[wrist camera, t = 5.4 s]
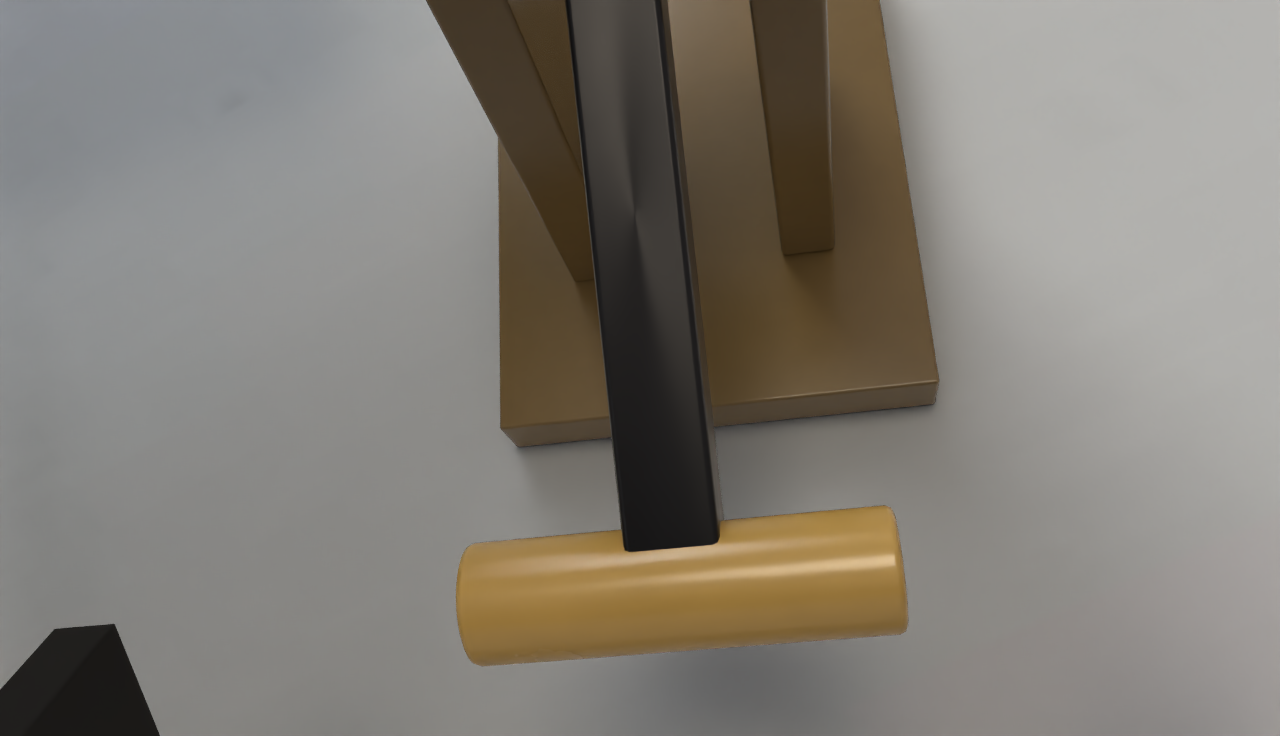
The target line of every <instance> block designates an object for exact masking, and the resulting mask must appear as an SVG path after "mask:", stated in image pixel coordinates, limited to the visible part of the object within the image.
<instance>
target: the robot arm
mask: <svg viewBox="0 0 1280 736" xmlns="http://www.w3.org/2000/svg"><path fill="white" fill-rule="evenodd" d="M0 736H160V735H159V732H158V730H157V727H156V725H155V722H154V720H153V717H152V715H151V713H150V710H149V708H148V705H147V703H146V700H145V698H144V695H143V693H142V690H141V688H140V686H139V683H138V681H137V678H136V676H135V673H134V671H133V668H132V666H131V663H130V661H129V658H128V656H127V654H126V651H125V649H124V646H123V644H122V641H121V639H120V636H119V634H118V631H117V629H116V626H115V624H108V625H96V626H84V627H72V628H60V629H54V630H53V631H52V632H51V634H50V635H49V636H48V637H47V638H46V639H45V640H44V641H43V643H42V644H41V645H40V646H39V647H38V648H37V649H36V650H35V651H34V653H33V654H32V655H31V656H30V657H29V658H28V659H27V660H26V662H25V663H24V664H23V665H22V666H21V667H20V668H19V669H18V671H17V672H16V673H15V674H14V675H13V676H12V677H11V678H10V679H9V681H8V682H7V683H6V684H5V685H4V686H3V687H2V688H1V690H0Z"/></svg>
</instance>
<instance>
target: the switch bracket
mask: <svg viewBox="0 0 1280 736" xmlns="http://www.w3.org/2000/svg"><path fill="white" fill-rule="evenodd" d="M426 1H427V3H428V5H429V7H430V9H431V11H432V13H433V15H434V17H435V18H436V20H437V22H438V24H439V26H440V28H441V30H442V32H443V34H444V35H445V37H446V39H447V41H448V43H449V45H450V47H451V49H452V51H453V53H454V54H455V56H456V58H457V60H458V62H459V64H460V66H461V68H462V70H463V71H464V73H465V75H466V77H467V79H468V81H469V83H470V85H471V87H472V88H473V90H474V92H475V94H476V96H477V98H478V100H479V102H480V104H481V106H482V107H483V109H484V111H485V113H486V115H487V117H488V119H489V121H490V123H491V124H492V126H493V128H494V130H495V132H496V134H497V136H498V180H499V308H500V428H501V430H502V431H503V432H504V433H505V434H506V435H507V436H508V437H509V438H510V439H511V440H512V441H513V443H514V444H515V445H516V446H518V447H523V446H533V445H543V444H552V443H562V442H572V441H581V440H591V439H601V438H610V437H611V428H610V418H609V409H608V400H607V390H606V381H605V371H604V362H603V353H602V343H601V334H600V324H599V315H598V306H597V296H596V287H595V278H594V268H593V259H592V249H591V240H590V231H589V221H588V212H587V202H586V193H585V184H584V174H583V165H582V156H581V146H580V137H579V127H578V118H577V109H576V99H575V90H574V80H573V71H572V62H571V52H570V43H569V34H568V24H567V15H566V5H565V0H426ZM668 10H669V19H670V28H671V37H672V46H673V55H674V64H675V74H676V83H677V92H678V101H679V110H680V119H681V129H682V138H683V147H684V156H685V165H686V174H687V184H688V193H689V202H690V211H691V220H692V229H693V238H694V248H695V257H696V266H697V275H698V284H699V293H700V303H701V312H702V321H703V330H704V339H705V348H706V358H707V367H708V376H709V385H710V394H711V403H712V412H713V422H714V427H717V426H726V425H736V424H746V423H755V422H765V421H775V420H784V419H794V418H804V417H813V416H823V415H833V414H842V413H852V412H862V411H871V410H881V409H891V408H900V407H910V406H920V405H929V404H934V403H935V400H936V395H937V390H938V385H939V375H938V369H937V362H936V356H935V350H934V343H933V337H932V331H931V324H930V318H929V312H928V305H927V299H926V292H925V286H924V280H923V273H922V267H921V261H920V254H919V248H918V241H917V235H916V229H915V222H914V216H913V210H912V203H911V197H910V190H909V184H908V178H907V171H906V165H905V159H904V152H903V146H902V139H901V133H900V127H899V120H898V114H897V108H896V101H895V95H894V89H893V82H892V76H891V69H890V63H889V57H888V50H887V44H886V38H885V31H884V25H883V18H882V12H881V6H880V0H668Z"/></svg>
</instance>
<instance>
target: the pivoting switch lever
mask: <svg viewBox="0 0 1280 736" xmlns="http://www.w3.org/2000/svg"><path fill="white" fill-rule="evenodd" d="M565 5H566V15H567V24H568V34H569V43H570V52H571V62H572V71H573V80H574V90H575V99H576V109H577V118H578V127H579V137H580V146H581V156H582V165H583V174H584V184H585V193H586V202H587V212H588V221H589V231H590V240H591V249H592V259H593V268H594V278H595V287H596V296H597V306H598V315H599V324H600V334H601V343H602V353H603V362H604V371H605V381H606V390H607V400H608V409H609V418H610V428H611V437H612V446H613V456H614V465H615V475H616V484H617V493H618V503H619V512H620V522H621V530H611V531H600V532H589V533H578V534H567V535H556V536H546V537H535V538H524V539H513V540H502V541H491V542H480V543H474V544H472V545H470V546H468V547H467V548H466V549H465V551H464V552H463V554H462V557H461V560H460V564H459V569H458V574H457V582H456V612H457V621H458V627H459V632H460V637H461V640H462V644H463V647H464V650H465V652H466V654H467V656H468V658H469V659H470V661H471V662H472V663H474V664H476V665H479V666H482V667H483V666H496V665H509V664H522V663H535V662H549V661H562V660H575V659H588V658H601V657H614V656H627V655H640V654H653V653H667V652H680V651H693V650H706V649H719V648H732V647H745V646H758V645H771V644H785V643H798V642H811V641H824V640H837V639H850V638H863V637H876V636H889V635H900V634H902V633H904V632H906V630H907V626H908V603H907V592H906V582H905V573H904V565H903V557H902V550H901V544H900V537H899V532H898V526H897V521H896V517H895V514H894V512H893V510H892V509H891V507H888V506H884V505H883V506H872V507H861V508H850V509H839V510H828V511H818V512H807V513H796V514H785V515H774V516H763V517H752V518H741V519H731V520H724V513H723V504H722V495H721V486H720V477H719V467H718V458H717V449H716V440H715V431H714V422H713V412H712V403H711V394H710V385H709V376H708V367H707V358H706V348H705V339H704V330H703V321H702V312H701V303H700V293H699V284H698V275H697V266H696V257H695V248H694V238H693V229H692V220H691V211H690V202H689V193H688V184H687V174H686V165H685V156H684V147H683V138H682V129H681V119H680V110H679V101H678V92H677V83H676V74H675V64H674V55H673V46H672V37H671V28H670V19H669V10H668V0H565Z"/></svg>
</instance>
